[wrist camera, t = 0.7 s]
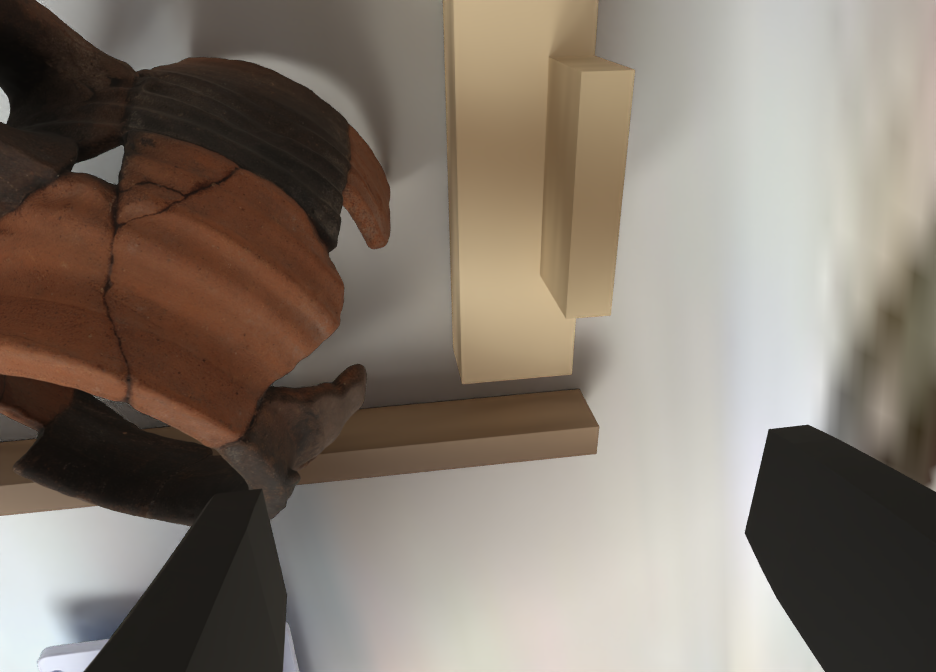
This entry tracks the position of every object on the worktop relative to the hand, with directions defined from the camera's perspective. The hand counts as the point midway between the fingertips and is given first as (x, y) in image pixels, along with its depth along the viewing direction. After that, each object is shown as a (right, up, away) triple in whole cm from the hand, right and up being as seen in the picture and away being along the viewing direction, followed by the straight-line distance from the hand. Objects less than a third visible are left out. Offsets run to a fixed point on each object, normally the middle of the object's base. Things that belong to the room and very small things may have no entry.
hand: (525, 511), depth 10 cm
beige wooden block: (0, +7, +8) cm, 10 cm away
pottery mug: (-7, +8, +7) cm, 13 cm away
